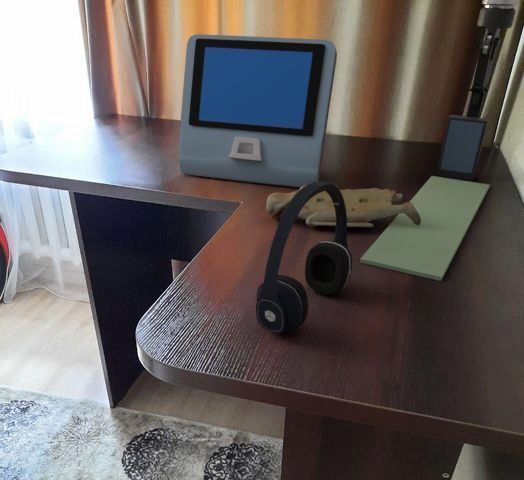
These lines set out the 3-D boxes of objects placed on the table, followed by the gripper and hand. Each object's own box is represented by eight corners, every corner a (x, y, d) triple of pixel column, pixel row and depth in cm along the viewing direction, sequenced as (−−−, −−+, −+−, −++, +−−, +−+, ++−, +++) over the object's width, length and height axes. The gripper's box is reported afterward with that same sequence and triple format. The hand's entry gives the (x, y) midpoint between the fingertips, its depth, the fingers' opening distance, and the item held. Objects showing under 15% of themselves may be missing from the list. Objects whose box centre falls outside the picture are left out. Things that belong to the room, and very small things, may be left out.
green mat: (489, 188, 123) (490, 184, 122) (441, 281, 83) (442, 277, 82) (431, 178, 128) (431, 175, 127) (359, 262, 88) (360, 258, 88)
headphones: (316, 277, 83) (326, 163, 73) (354, 288, 80) (371, 171, 70) (247, 332, 70) (246, 202, 59) (289, 348, 67) (297, 214, 56)
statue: (413, 198, 104) (269, 214, 108) (416, 168, 98) (264, 186, 102) (421, 232, 98) (269, 248, 102) (426, 202, 93) (263, 219, 96)
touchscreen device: (176, 177, 125) (167, 34, 109) (207, 159, 141) (202, 32, 124) (314, 193, 117) (327, 41, 100) (330, 172, 133) (344, 38, 116)
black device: (474, 178, 129) (489, 118, 121) (472, 181, 127) (487, 121, 119) (438, 172, 132) (451, 114, 124) (435, 175, 130) (448, 117, 122)
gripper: (485, 5, 119) (461, 114, 133) (476, 7, 110) (451, 123, 124) (519, 7, 117) (490, 117, 131) (513, 8, 107) (483, 127, 121)
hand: (471, 120), depth 127 cm, fingers closed
